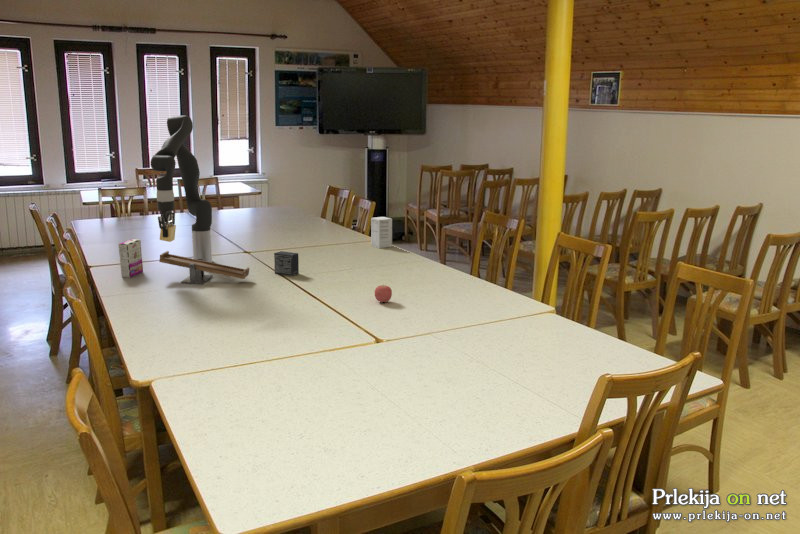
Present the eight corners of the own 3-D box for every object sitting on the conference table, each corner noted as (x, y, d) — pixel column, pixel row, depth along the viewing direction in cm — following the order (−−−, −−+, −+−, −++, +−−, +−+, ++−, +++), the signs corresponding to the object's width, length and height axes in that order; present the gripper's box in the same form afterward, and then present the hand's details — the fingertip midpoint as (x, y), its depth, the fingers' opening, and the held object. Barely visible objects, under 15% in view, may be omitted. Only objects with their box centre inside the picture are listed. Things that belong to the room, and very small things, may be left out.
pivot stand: (192, 276, 326) (191, 257, 324) (212, 276, 325) (212, 258, 323) (181, 283, 313) (180, 264, 310) (202, 284, 312) (201, 265, 310)
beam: (166, 258, 322) (167, 251, 321) (248, 274, 321) (249, 267, 320) (159, 261, 314) (160, 254, 313) (243, 279, 313) (244, 271, 312)
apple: (375, 299, 295) (375, 281, 293) (392, 299, 295) (392, 282, 293) (373, 304, 288) (374, 286, 286) (391, 304, 287) (391, 286, 285)
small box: (299, 273, 335) (299, 252, 333) (292, 276, 330) (291, 255, 327) (281, 270, 340) (281, 250, 337) (274, 273, 334) (273, 252, 331)
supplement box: (392, 246, 400) (392, 218, 396) (379, 248, 395) (379, 219, 391) (383, 243, 408) (384, 216, 404) (370, 245, 403) (370, 217, 399)
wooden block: (164, 237, 318) (165, 223, 316) (174, 239, 318) (175, 225, 316) (159, 239, 313) (161, 225, 312) (170, 241, 313) (171, 227, 311)
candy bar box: (134, 271, 332) (131, 238, 328) (143, 272, 331) (141, 239, 327) (120, 277, 322) (117, 243, 318) (130, 278, 321) (127, 243, 317)
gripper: (164, 197, 318) (166, 232, 322) (150, 201, 304) (153, 238, 309) (179, 197, 318) (181, 233, 322) (167, 202, 304) (169, 239, 308)
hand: (167, 235), depth 315 cm, fingers closed on wooden block, 5 cm apart
